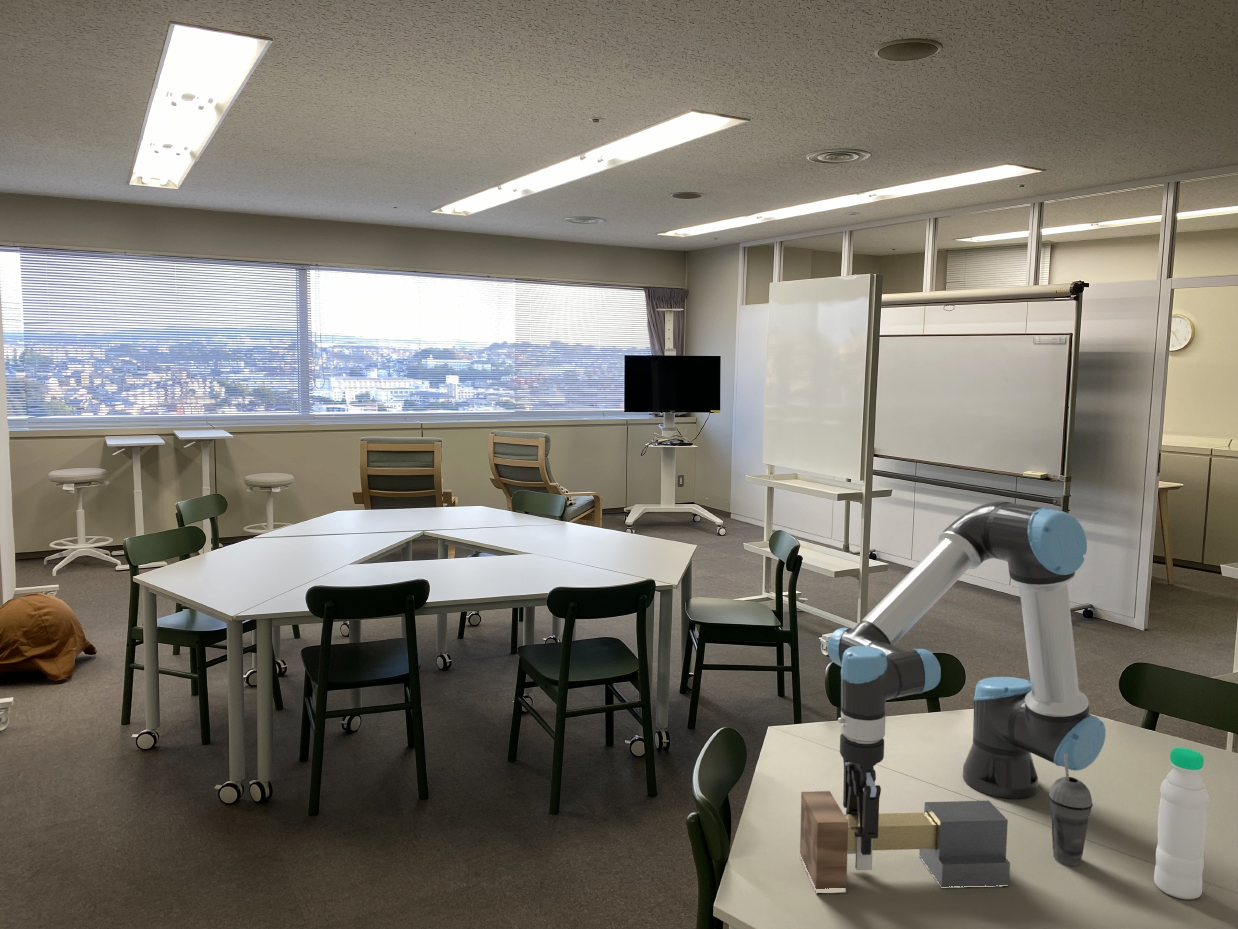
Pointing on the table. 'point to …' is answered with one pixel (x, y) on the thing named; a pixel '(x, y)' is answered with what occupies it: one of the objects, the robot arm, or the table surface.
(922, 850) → the sleeve
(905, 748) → the table surface
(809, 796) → the socket block
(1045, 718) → the robot arm
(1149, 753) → the table surface
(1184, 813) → the water bottle
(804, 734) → the table surface
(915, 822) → the rail
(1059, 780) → the beverage cup
